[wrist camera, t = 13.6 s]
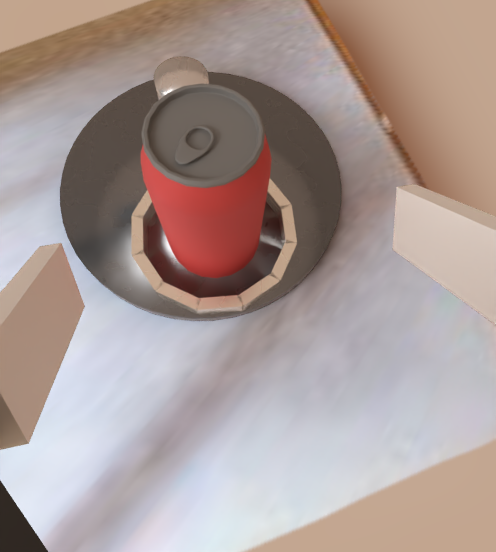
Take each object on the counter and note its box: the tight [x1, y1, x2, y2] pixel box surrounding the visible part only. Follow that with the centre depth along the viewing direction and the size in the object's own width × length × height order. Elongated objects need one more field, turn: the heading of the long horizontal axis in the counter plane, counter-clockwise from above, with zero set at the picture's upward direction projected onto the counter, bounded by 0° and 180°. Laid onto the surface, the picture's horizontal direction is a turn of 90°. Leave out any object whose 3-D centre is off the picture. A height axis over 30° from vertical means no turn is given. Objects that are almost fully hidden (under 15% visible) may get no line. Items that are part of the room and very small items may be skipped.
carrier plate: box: [60, 57, 341, 321], centre depth 29 cm, size 22×22×5 cm
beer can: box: [141, 83, 271, 278], centre depth 23 cm, size 7×7×12 cm
